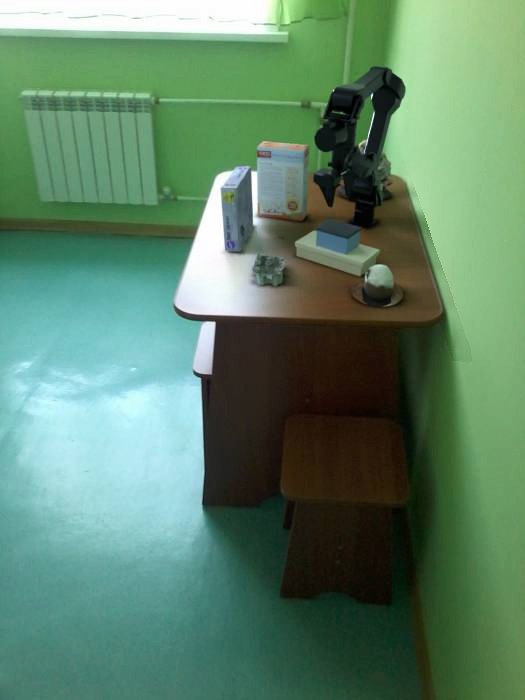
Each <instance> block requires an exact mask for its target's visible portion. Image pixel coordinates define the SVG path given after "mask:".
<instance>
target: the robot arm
mask: <svg viewBox="0 0 525 700" xmlns="http://www.w3.org/2000/svg"><path fill="white" fill-rule="evenodd" d="M406 89H407V87H406V85H405V83H404V81H403V79H402V78H401V77H400V76H398V75H397V74H395V72H393V70H392V68H389V66H380V65H374V66H371V67H370V68H369V70H368V71H367V72H366V73H364V74H363V75H362V76H360V77H359V78H357V79H356V80H355V81H353V82H352V83H345V84H341V85H338V86H336V87H335V88H334V89H333V90H332V92H331V93H330V95H329V99H328V101H327V104H326V107H325V110H324V113H323V116H322V119H323V120H324V121H323V122H322V127H320V128H318V129H317V130H316V132H315V134H314V138H313V139H314V144H315V146H316V148H317V149H318V150H319V151H320V152H322V153H330V152H331V157H330V161H328V162H327V167H328V168H326V167H321V168H320V169H318V170H316V171H315V172H314V173H313V174H312V183H314V184H315V185H316V186H318V187H319V190H320V192H321V193H322V195H323V198H324V201H325V203H326V205H327V207H328V208H333V206H334V203H335V196H336V192H337V189H338V188H339V187H340V186H342V183H341V181H343V184H344V187H345V192H346V196H347V197H349V199H348V202H349V203H355V204H354V211H353V212H354V214H353V218H351V219H350V220H349V221H348V224H351V225H355V226H358V227H361V228H362V227H363V228H366V229H368V228H371V227H372V226H373V225H375V224H377V223H378V222H379V218H376V217H375V210H376V208H377V207H381V206H382V205H383V201H384V200H383V197H384V195H383V193H382V190H381V188H380V182H381V180H380V176H379V173H378V166H379V163H380V159H381V155H382V152H383V150H384V146H385V143H386V138H387V134H388V132H389V126H390V123H391V119H392V116H393V115H394V114H395V113H396V111H398V109H399V108H400V107H401V105H402V102H403V100H404V98H405V96H406V93H407V92H406ZM369 97H371V99H370V102H371V105H372V109H373V115H372V119H371V123H370V128H369V131H368V136H367V139H366V140H367V143H366V147H365V151H364V154H361V153H359V144H356V142H357V141H356V139H357V129H358V121H359V120H360V119H361V116H360V115H361V113H362V111H363V109H364V108H365V103H366V102H365V101H366V99H368V98H369ZM342 174H343V180H342V179H341V175H342Z"/></svg>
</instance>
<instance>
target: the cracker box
mask: <svg viewBox="0 0 525 700" xmlns="http://www.w3.org/2000/svg"><path fill="white" fill-rule="evenodd" d="M309 169H310V145H309V144H299V143H298V144H297V143H288V142H287V143H286V142H276V141H265V140H263V141H262V142H261V143H259V145H258V146H256V183H257V185H256V186H257V188H256V189H257V194H256V195H257V197H256V199H257V201H256V202H257V216H258V217H263V218H264V217H265V218H273V219H281V220H289V221H297V222H303V221H304V220H305V218H306V216H307V215H308V200H309V199H308V198H309V173H310V171H309Z"/></svg>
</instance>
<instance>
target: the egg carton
mask: <svg viewBox="0 0 525 700" xmlns="http://www.w3.org/2000/svg"><path fill="white" fill-rule="evenodd" d="M255 256H256V257H255V260H254V263H253V267H252V273H253V276H254V283H256V284H258V285H259V286H264V285H266V284H271V285H272V286H273V287H277V286H278V285H280V284H282V283H283V280H284V276H283V275H284V269H285V266H286V263H285V259H284V256H280V257H278V255H272V254H261V253H258V252H257V253H256V255H255Z"/></svg>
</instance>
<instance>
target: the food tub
mask: <svg viewBox="0 0 525 700" xmlns="http://www.w3.org/2000/svg"><path fill="white" fill-rule="evenodd" d="M315 231H317V235H316V246H319V247H323V248H326V249H329V250H332V251H336V252H339V253H342V254H345V255H347V254H348V253H349V252H351V251H352V250H354V249H355V248H356V247H358V246H359V244H360V235H361V231H362V226H358V225H355V224H351V223H346V222H344V221H340V220H337V219H334V218H333V219H332V218H329V219H327V220H325V221H324V222H322V223H320V224H319V225H317V226H316V227H315Z"/></svg>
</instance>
